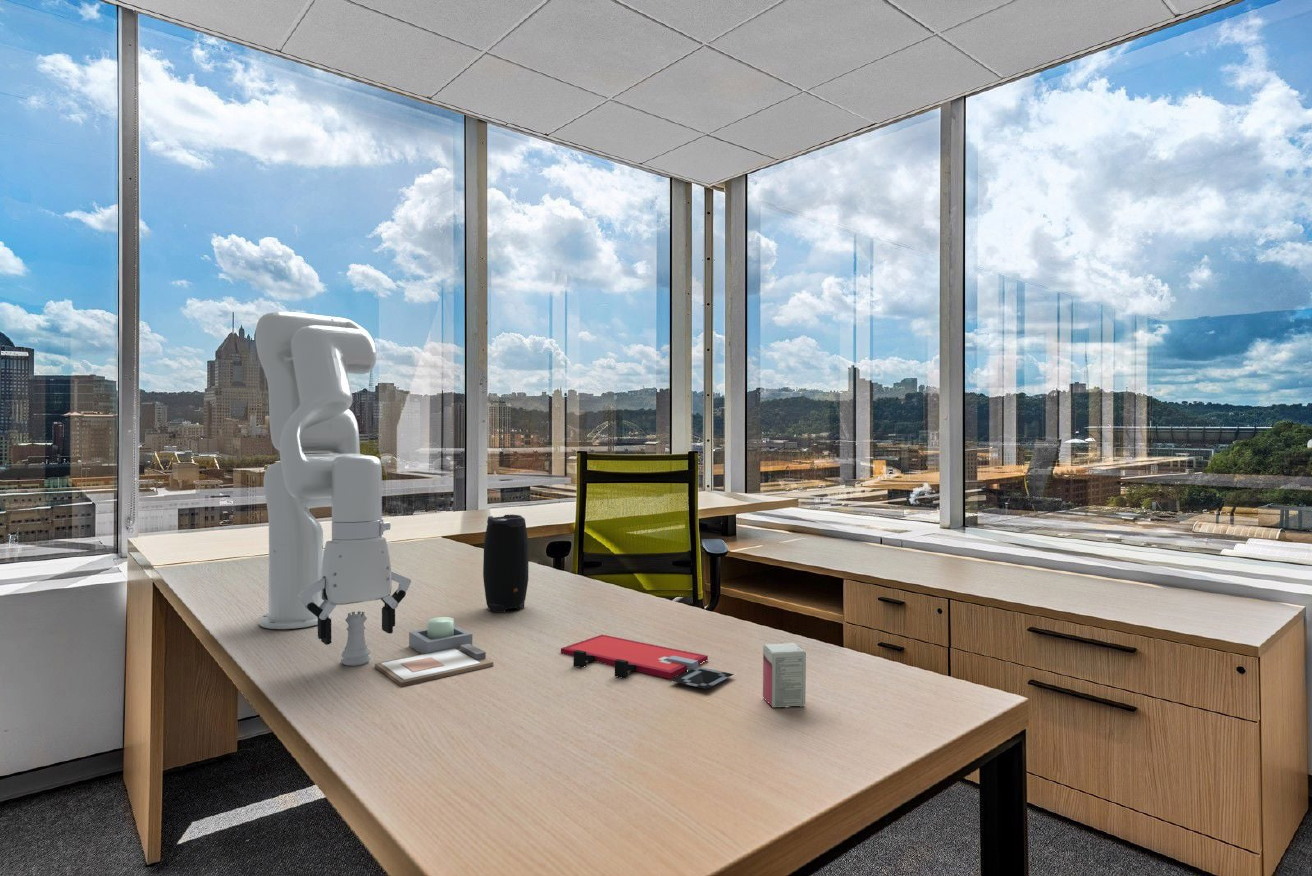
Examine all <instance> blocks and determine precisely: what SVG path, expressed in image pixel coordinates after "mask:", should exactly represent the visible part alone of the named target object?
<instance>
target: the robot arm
mask: <svg viewBox="0 0 1312 876" xmlns="http://www.w3.org/2000/svg"><path fill="white" fill-rule="evenodd" d="M256 323H257V324H256V327H255V346H256V352H257V355H258V359H259V363H260V365H261V367H262V369H263V372H264V375H265V379H266V381H267V388H268V412H269V414H268V415H269V431H270V439H271V443H272V445H273V447H274V448H275V449H276V450H277V451H278V452H279V458H280V460H279V461H277V462H275V463H272V464H271V465H269V466H268V468H266V470H265V472H264V475H263V490H264V496H265V502H266V508H267V509H266V510H267V516H268V517H267V519H268V613H266V614H264V615H262V616H260V618H259V620H258V622H259V626H260V627H261V628H265V629H270V630H293V629H301V628H308V627H314V626H317V638H318V640H320V642H322V643H323V644H324V645H326V646H329V645H331V644H332V612H333V610H334V609H335V608H336V607H337V606H345V605H351V604H359V603H365V602H372V601H379V600H380V601H381V602H382V603H383V604H384V605H383V606H382V608H381V630H382V631H383V632H384V633H387V634H389V635H390V634H393V633H394V627H395V626H396V609H397V608H398V606H399V605H400V603H401V601H402V600H403V599H404V598H405V597H406V594H407V591H408V590H409V587H410V586H411V583H412V580H411V578H409V577H406V576H403V575H401V574H399V573H396V572H394V571H392V570H391V569H392V566H391V559H390V552H389V548H388V546H389V545H388V543H387V538H386V537H384V532H386V531H389V530H391V522H390V521H384V519H382V517H383V515H382V514H383V511H382V510H383V509H382V508H383V506H382V504H383V503H382V500H383V498H382V497H383V493H382V491H383V486H382V483H383V481H382V480H383V479H382V476H383V474H382V472H383V471H382V470H383V469H382V462H381V460H380V458H379V457H378V456H374V455H366V454H362V453H361V450H360V449H361V448H360V433H359V432H360V431H359V424H358V421H357V417H356V415H355V414H354V412H353V411H352V410H350V408H351V406H352V404H353V400H354V399H353V394H352V389H351V385H350V379H349V374H357V375H358V374H359V375H366V374H369V373H370V372H371V371H373V369H374V368H375V365H376V362H377V348H376V344H375V341H374V339H373V337H372V336H371V334H370V333H369V332H368V331H367V330H366V329H365V328H363V327H362V326H361V325H359V324H357V323H356V322H354V321H353V320H351V319H348V318H344V317H338V316H337V317H336V316H328V315H319V314H312V313H304V312H295V311H294V312H293V311H274V312H269V313H264V314H263V315H262V316H261V317H260V318H259V319H258V321H257V322H256ZM327 507H331V540H327V541H326V542H325V545H324V530H323V528H322V525H321V523H320V522H319V521H318V519H317V518H315V516H314V515H313V514H312V513H311V512H310V509H316V508H327ZM393 582H396V583H398V588H397V589H396V590H395V592H393V594H392V588H393V587H392V585H393V584H392V583H393Z"/></svg>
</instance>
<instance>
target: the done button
mask: <svg viewBox="0 0 1312 876" xmlns="http://www.w3.org/2000/svg"><path fill="white" fill-rule="evenodd" d="M454 625H455V619H454V618H453V617H448V616H438V617H433V618H430V619H428V620H427V626H426V627H427V628H426V629H427V638H428V639H430V640H434V639H440V638H445V637H450V636H454Z"/></svg>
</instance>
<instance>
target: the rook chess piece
mask: <svg viewBox="0 0 1312 876" xmlns="http://www.w3.org/2000/svg"><path fill="white" fill-rule="evenodd" d="M367 619H368V618H367V616H366V615H365V611H361V610H359V611H358V610H357V613H356V611H351V612H348V613H347V616H346V618H345V622H346V623H347V628H346V630H347V640H346V645H345V647H344V650H343V651H342V653H341V657H342V659H341V660H340V661H341V664H342V665H344V666H347V667H358V666H362V665H366V664H368V663H369V661H370V660H371V655H370V653H371V650H370V649H369V648H368V645H367V644H366V638H365V629H366V625H365V623H366V621H367Z"/></svg>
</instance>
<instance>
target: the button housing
mask: <svg viewBox="0 0 1312 876" xmlns="http://www.w3.org/2000/svg"><path fill="white" fill-rule="evenodd" d="M408 635H409V636H408V646H409V647H410V648H411V647H412V649H413V650H415V651H416V652H418V653H420V654H425V653H427V654H429V653H434V652H439V651H444V650H449V649H454V648H460V645H465V644H471V645H473V633H471V632H469V631H467V630H465V629H463V628H461V627H458V626H457V625H455V624H454V636H450V637H445V638H440V639H434V640H430V639H428V638H427V628H423V629H418V630H412V631H411V630H410V631H409V633H408Z"/></svg>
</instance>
